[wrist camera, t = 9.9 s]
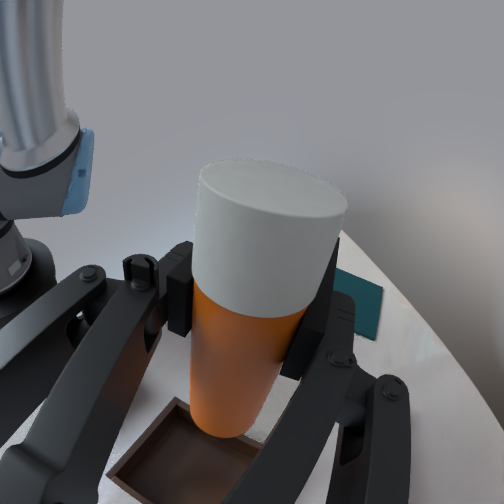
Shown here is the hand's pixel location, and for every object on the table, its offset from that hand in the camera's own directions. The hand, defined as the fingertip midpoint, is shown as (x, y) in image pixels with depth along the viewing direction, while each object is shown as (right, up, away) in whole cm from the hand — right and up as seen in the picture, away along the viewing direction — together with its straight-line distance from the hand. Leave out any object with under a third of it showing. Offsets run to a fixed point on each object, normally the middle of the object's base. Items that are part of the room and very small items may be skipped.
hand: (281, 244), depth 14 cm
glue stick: (-3, -9, 0) cm, 10 cm away
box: (-7, -20, +4) cm, 21 cm away
